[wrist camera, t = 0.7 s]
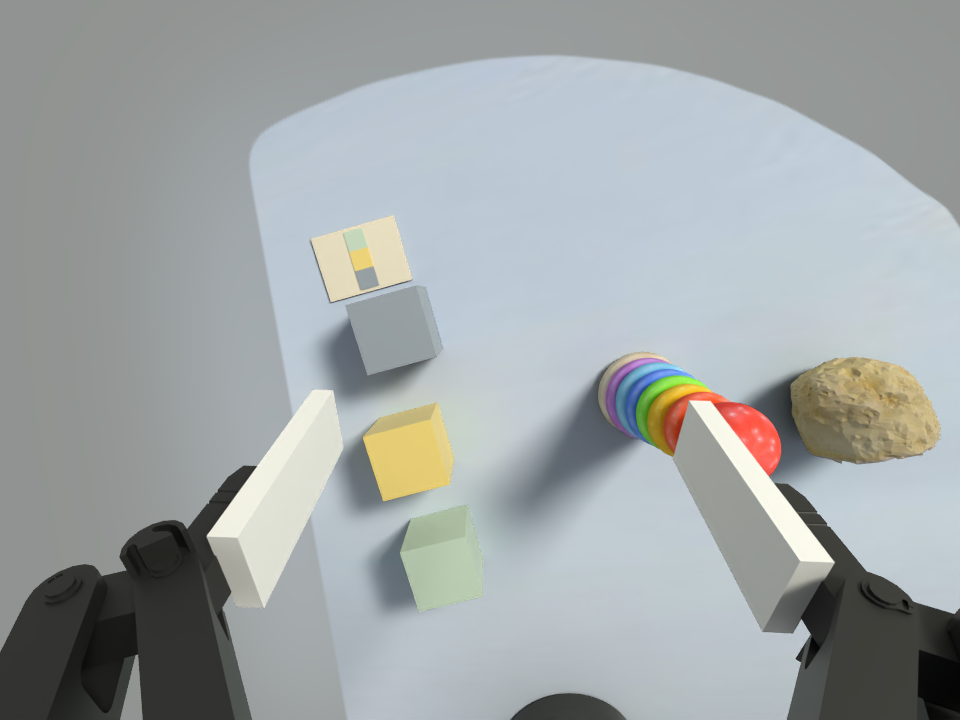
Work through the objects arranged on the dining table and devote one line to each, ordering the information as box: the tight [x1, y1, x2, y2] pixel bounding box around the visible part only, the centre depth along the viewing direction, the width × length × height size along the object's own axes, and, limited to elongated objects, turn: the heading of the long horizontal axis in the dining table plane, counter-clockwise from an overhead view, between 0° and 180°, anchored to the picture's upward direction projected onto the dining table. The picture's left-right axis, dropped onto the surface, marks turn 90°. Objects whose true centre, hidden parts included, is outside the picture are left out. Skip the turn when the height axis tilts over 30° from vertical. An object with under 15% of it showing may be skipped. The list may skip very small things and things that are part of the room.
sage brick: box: [400, 504, 483, 612], centre depth 41 cm, size 6×6×6 cm
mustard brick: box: [363, 402, 454, 501], centre depth 40 cm, size 6×6×6 cm
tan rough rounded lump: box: [790, 357, 941, 464], centre depth 37 cm, size 10×10×10 cm
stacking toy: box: [598, 352, 781, 476], centre depth 33 cm, size 8×8×19 cm
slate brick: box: [345, 286, 443, 376], centre depth 38 cm, size 6×6×6 cm
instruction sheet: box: [311, 215, 412, 302], centre depth 40 cm, size 6×8×1 cm
